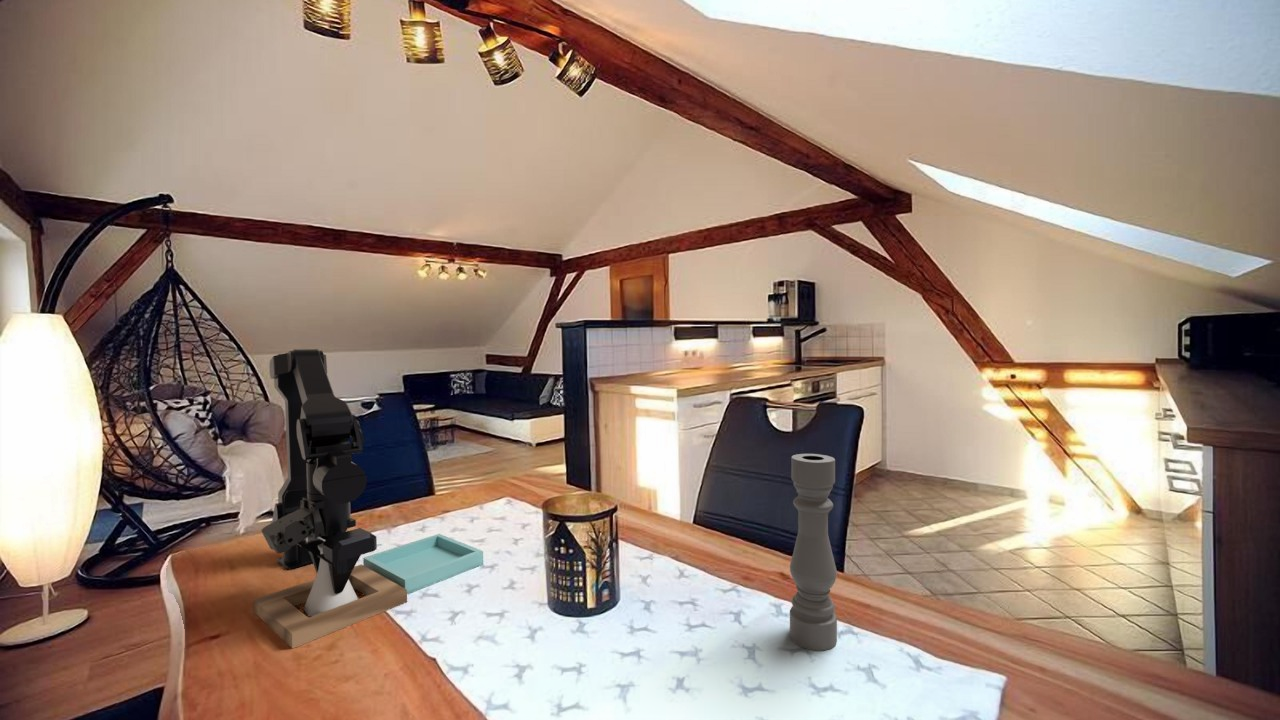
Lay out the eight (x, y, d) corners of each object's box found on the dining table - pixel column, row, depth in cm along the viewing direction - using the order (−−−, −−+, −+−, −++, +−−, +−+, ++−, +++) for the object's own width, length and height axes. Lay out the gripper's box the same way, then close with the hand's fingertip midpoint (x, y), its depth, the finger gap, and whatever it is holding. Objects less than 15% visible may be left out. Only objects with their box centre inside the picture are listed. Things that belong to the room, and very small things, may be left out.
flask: (294, 612, 80) (292, 548, 79) (340, 592, 86) (338, 532, 86) (322, 623, 76) (320, 556, 76) (367, 601, 83) (366, 540, 82)
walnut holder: (253, 612, 80) (253, 599, 80) (361, 575, 92) (361, 564, 92) (292, 648, 70) (292, 634, 70) (407, 602, 83) (406, 589, 83)
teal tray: (363, 571, 94) (363, 557, 94) (439, 545, 106) (439, 533, 106) (405, 595, 85) (405, 580, 85) (483, 564, 97) (483, 551, 97)
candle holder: (813, 655, 67) (813, 465, 67) (780, 632, 73) (779, 456, 72) (847, 642, 70) (847, 459, 70) (812, 621, 76) (812, 451, 75)
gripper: (247, 491, 80) (250, 590, 81) (292, 514, 69) (295, 630, 69) (325, 476, 89) (328, 566, 89) (377, 495, 77) (379, 597, 78)
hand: (331, 588), depth 81 cm, fingers closed on flask, 5 cm apart
